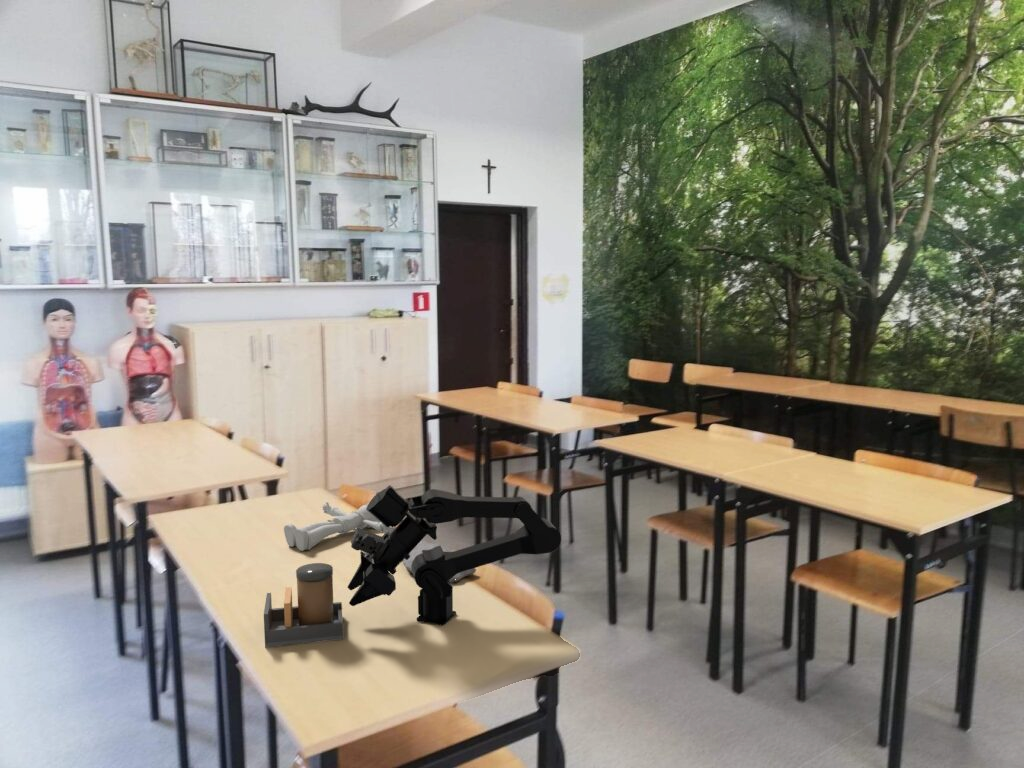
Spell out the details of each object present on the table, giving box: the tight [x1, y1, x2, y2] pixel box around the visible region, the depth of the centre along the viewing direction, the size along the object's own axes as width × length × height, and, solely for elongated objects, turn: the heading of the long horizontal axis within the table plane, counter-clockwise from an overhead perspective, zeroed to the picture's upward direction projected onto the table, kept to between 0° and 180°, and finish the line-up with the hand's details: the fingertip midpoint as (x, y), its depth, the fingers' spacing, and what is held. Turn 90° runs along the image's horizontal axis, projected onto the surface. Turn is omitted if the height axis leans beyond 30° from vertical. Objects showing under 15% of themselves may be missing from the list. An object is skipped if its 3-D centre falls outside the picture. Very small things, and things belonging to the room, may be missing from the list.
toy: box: [283, 501, 396, 552], centre depth 219 cm, size 33×8×30 cm
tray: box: [263, 592, 344, 648], centre depth 160 cm, size 15×11×7 cm
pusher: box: [283, 586, 293, 628], centre depth 159 cm, size 1×8×7 cm, turn 14°
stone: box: [402, 540, 477, 583], centre depth 195 cm, size 16×6×25 cm
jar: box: [295, 562, 334, 626], centre depth 160 cm, size 7×7×12 cm
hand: (349, 596), depth 161 cm, fingers open, 8 cm apart
